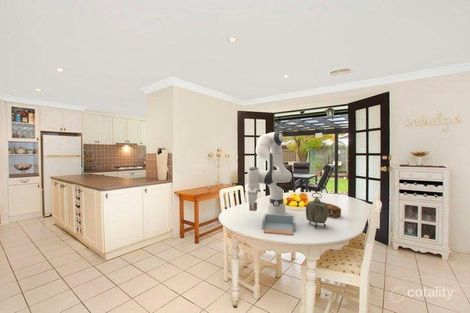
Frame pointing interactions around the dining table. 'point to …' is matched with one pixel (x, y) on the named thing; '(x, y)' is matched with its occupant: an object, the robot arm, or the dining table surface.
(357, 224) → the dining table surface
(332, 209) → the bread
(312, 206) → the tabletop clock
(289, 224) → the blue-grey open tray
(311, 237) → the dining table surface
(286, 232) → the panel
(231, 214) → the dining table surface
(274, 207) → the robot arm
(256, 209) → the walnut block
